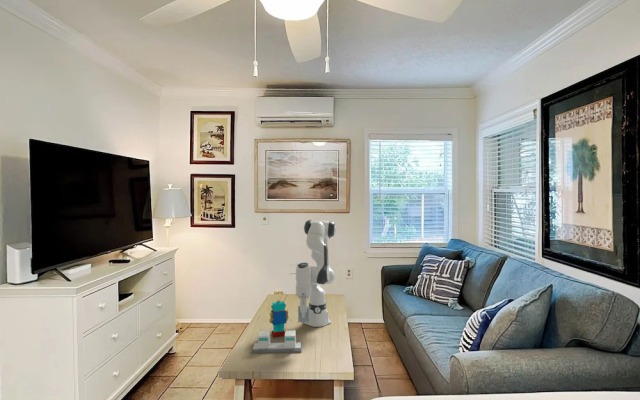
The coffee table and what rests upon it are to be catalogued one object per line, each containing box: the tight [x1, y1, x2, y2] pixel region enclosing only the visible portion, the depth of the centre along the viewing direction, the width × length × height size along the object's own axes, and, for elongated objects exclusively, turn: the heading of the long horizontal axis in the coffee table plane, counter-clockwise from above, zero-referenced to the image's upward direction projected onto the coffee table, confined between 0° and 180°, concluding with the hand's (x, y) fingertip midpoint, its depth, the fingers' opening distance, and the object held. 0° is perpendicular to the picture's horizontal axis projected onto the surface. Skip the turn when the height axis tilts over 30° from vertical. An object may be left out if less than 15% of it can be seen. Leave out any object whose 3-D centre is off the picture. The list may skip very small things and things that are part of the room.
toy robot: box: [269, 296, 289, 338], centre depth 227 cm, size 12×6×25 cm, turn 111°
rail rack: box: [251, 329, 303, 354], centre depth 208 cm, size 11×28×9 cm, turn 91°
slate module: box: [297, 305, 309, 323], centre depth 208 cm, size 4×6×8 cm
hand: (303, 315), depth 208 cm, fingers closed on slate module, 4 cm apart
